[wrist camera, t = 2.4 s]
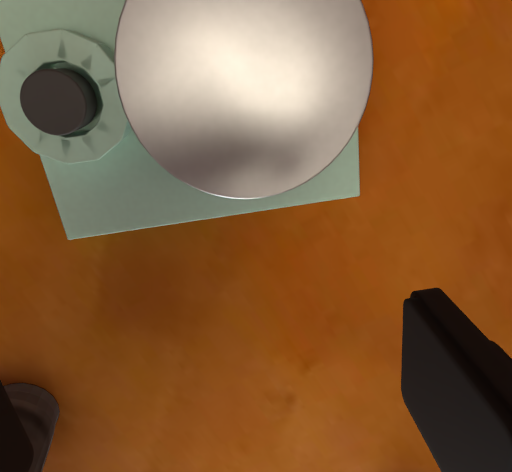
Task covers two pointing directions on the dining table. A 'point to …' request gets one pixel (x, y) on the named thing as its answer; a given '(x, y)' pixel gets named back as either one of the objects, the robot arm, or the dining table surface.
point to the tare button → (58, 100)
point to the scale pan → (243, 88)
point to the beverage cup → (35, 418)
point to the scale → (116, 131)
